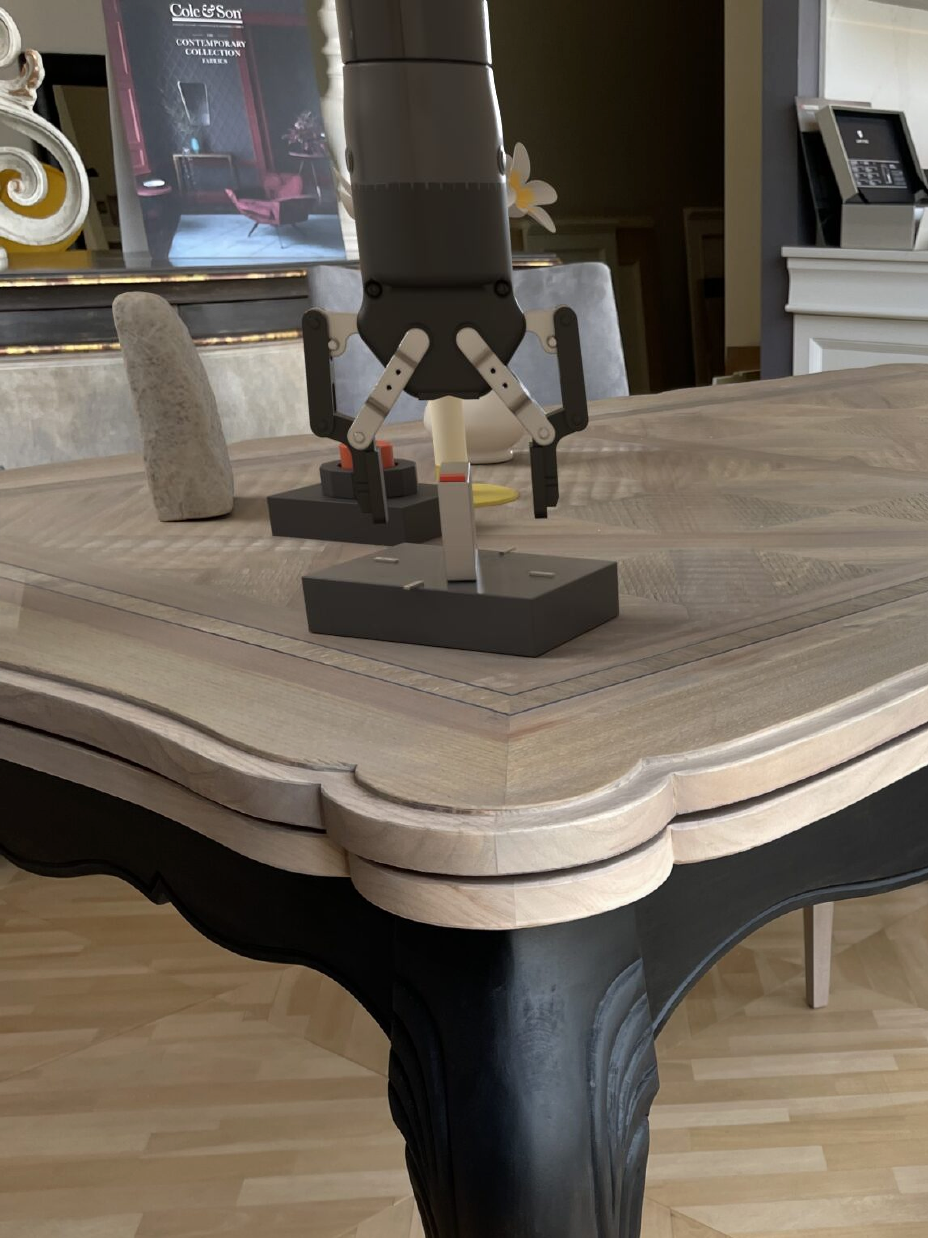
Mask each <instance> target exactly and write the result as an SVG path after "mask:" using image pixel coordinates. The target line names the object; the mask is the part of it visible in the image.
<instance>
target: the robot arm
mask: <svg viewBox="0 0 928 1238" xmlns="http://www.w3.org/2000/svg"><path fill="white" fill-rule="evenodd" d="M334 7H335V14H336V24H337V31H338V39H339V48H340V57H341V63H342V64H343V66H342V79H343V81H342V82H343V86H342V87H343V90H342V91H343V95H342V97H343V100H342V101H343V102H342V103H343V104H342V108H343V110H342V111H343V113H342V115H343V117H342V118H343V129H344V130H343V131H344V139H345V149H344V157H345V158H344V159H345V165H346V170H347V172H348V174H349V181H350V185H351V191H352V200H353V209H354V217H355V220H354V223H355V234H356V242H357V248H358V249H357V251H358V258H359V259H358V260H359V268H360V276H361V285H362V301H361V305H360V308H359V309H358V312H351V311H332V310H331V311H330V310H325V309H324V308H323V307H319V306H315V307H311V308H309V309H308V310H307V311H305V312H304V313H303V315H302V316H301V317H302V318H301V332H302V343H303V356H304V368H305V382H306V383H305V384H306V394H307V405H308V406H307V407H308V420H309V427H310V430H311V432H312V433H313V434H314V435H315V436H316V437H319V438H322V439H323V438H324V439H325V438H326V439H329V440H332V441H336V442H338V443H340V444H341V443H343V444H344V445H346V446H347V448H348V449H349V450H350V452H351V456H352V463H353V471H354V479H355V487H356V494H357V502H358V505H359V507H360V509H361V511H362V513H372V519H373V524H387V522H388V508H387V499H386V491H385V482H384V474H383V466H382V457H381V449H380V446H376V441H377V440H376V435H377V433H378V432H379V430H380V429H381V427H382V425H383V423H384V422H385V420H386V419H387V417H388V416H389V414H390V412H391V410H392V408H393V407H394V405H395V404H396V402H397V401H398V399H399V398H400V395H401V394H402V392H404V393H406V395H408V396H410V397H412V398H414V399H418V401H428V400H436V399H439V398H442V397H446V396H452V397H456V398H460V399H464V400H474V399H480V397H483V396H485V395H487V394H488V393H490V392H491V391H492V390H494V391H495V393H496V394H497V395H498V396H499V398H500V399H501V400H502V401H503V403H504V404H505V405H506V406H507V408H508V409H509V410H510V411H511V412H512V413H513V414H514V415H515V417H516V418H517V419H518V420H519V421H520V423H521V424H522V425H523V426H524V428H525V429H526V432H527V434H529V435H530V437H531V441H528V450H529V451H528V452H529V464H530V465H529V466H530V477H531V491H532V506H533V515H534V519H536V520H541V519H542V520H544V519H545V520H547V519H548V518H549V517H548V508H556V507H557V505H558V502H559V498H560V489H559V488H560V487H559V474H558V473H559V472H558V459H557V447H558V444H559V442H560V441H561V440H562V439H563V438H566V437H567V436H569V435H572V434H574V433H577V432H582V431H584V430H586V428H587V427H588V425H589V422H590V417H589V410H588V401H587V392H586V383H585V373H584V365H583V356H582V347H581V338H580V329H579V321H578V320H579V319H578V315H577V313H576V311H575V310H574V309H573V308H572V307H571V306H570V305H568V304H565V303H560V304H557V305H556V306H555V307H554V308H549V309H536V310H523V308H522V307H521V306H520V304H519V302H518V300H517V298H516V295H515V285H514V284H515V283H514V272H513V271H514V270H513V269H514V268H513V258H512V243H511V231H510V217H509V215H508V202H507V188H506V175H505V171H506V156H505V154H506V152H505V149H504V148H505V147H504V137H503V125H502V118H501V113H500V106H499V103H498V102H499V101H498V97H497V93H496V86H495V81H494V72H493V69H492V67H491V66H492V65H493V62H492V60H493V59H492V50H491V49H492V48H491V47H492V46H491V35H490V22H489V21H490V20H489V9H488V8H489V7H488V1H487V0H334ZM527 332H528V333H533V334H534V335H535V336H536V337H537V338H538V340H539V344H540V347H541V348H542V350H543V351H544V352H545V353H547V354H550V355H556V361H557V369H558V378H559V387H560V394H561V395H560V396H561V403H562V406H561V407H559V408H557V409H555V410H552V411H550V412H548V413H546V412H545V411H544V409H542V407H541V406H540V404H539V403H538V402H537V401H536V400H535V398H534V397H533V396H532V395H531V393H530V392H529V390H528V389H527V388H526V386H525V385H524V383H523V382H522V381H521V380H520V378H519V377H518V376H517V375H516V373H514V371H513V370H512V368H511V367H510V366H509V364H510V362H511V361H512V360H513V359H512V358H513V357H514V355H515V354H516V352H517V350H518V349H519V347H520V345H521V344H522V342H523V340H524V338H525V336H526V333H527ZM356 334H357V335H358V336H359V337H360V339H361V340H362V342H363V343H364V344H365V346H366V347H367V348H368V349H369V350H370V351H371V353H372V354H373V355H374V357H375V358H376V359H377V360H378V362H379V363H380V364H381V365H382V367H383V368H384V370H383V372H382V373H381V376H380V377H379V379H378V380H377V382H376V384H375V386H374V387H373V388H372V390H371V392H370V393H369V395H368V397H367V399H366V400H365V402H364V403H363V405H362V407H361V408H360V411H359V412H358V414H357V416H356V417H354V416H350V415H347V414H345V413H341V412H339V411H338V402H337V401H338V399H337V388H336V387H337V386H336V374H335V360H334V359H335V358H338V357H341V356H342V355H343V354H344V353H345V352H346V351H347V350H348V349H347V348H348V342H349V339H350V338H351V336H353V335H356ZM375 440H376V441H375Z"/></svg>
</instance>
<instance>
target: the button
mask: <svg viewBox="0 0 928 1238" xmlns="http://www.w3.org/2000/svg"><path fill="white" fill-rule="evenodd" d="M375 441H376V446H380V449H381V457H382V466H383V468H389V467H393V466H395V465H394V458H395V456H394V449H393V448H394V447H393V443H392V442H391V441H386V440H376V439H375ZM338 448H339V458H340V460H341V465H342V468H346V469H353V463H352V456H351V452H350V450H349V449H348V448H347V446H346V445H344V444H343V443H341V442H340V444H339V445H338Z"/></svg>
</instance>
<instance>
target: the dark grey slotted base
mask: <svg viewBox="0 0 928 1238" xmlns="http://www.w3.org/2000/svg"><path fill="white" fill-rule="evenodd" d="M477 549H478V563H477V580H476V581H447V580H446V572H445V562H444V551H443V545H435V544H426V543H425V544H424V543H420V544H414V543H402V544H399V545H396V546H388V547H386V548H383V549H380V550H377V551H375V552H374V551H373V552H372V553H371V552H370V553H368V554H366V555H363V556H358V557H357V558H353V559H350V560H347V561H343V562H341V563H338V564H334V565H332V566H329V567H326V568H322V569H319V570H316V571H314V572H310V573H307V574H304V575H302V576H300V577H301V579H300V580H301V585H302V592H303V600H304V606H305V613H306V622H307V628H308V631H309V632H310V633H315V634H324V635H334V636H343V637H352V638H362V639H370V640H378V641H388V642H396V643H405V644H415V645H424V646H433V647H440V648H441V647H442V648H449V649H460V650H470V651H478V652H486V653H496V654H503V655H504V654H505V655H513V656H523V657H532V658H537V657H538V656H540V655H542V654H544V653H546V652H548V651H551V650H552V649H554V648H556V647H558V646H560V645H562V644H564V643H566V642H568V641H570V640H572V639H574V638H576V637H578V636H580V635H582V634H584V633H586V632H588V631H589V630H592V629H594V628H595V627H597V626H600V625H602V624H603V623H605V622H608V621H609V620H611V619H614V618H616V617H617V616H619V615H620V596H619V573H618V569H619V568H618V561H615V560H606V559H595V558H583V557H573V556H572V557H571V556H562V555H561V556H559V555H549V554H538V553H526V552H516V549H517V548H516V546H508V547H505V548H503V549H500V550H492V549H481V548H477Z"/></svg>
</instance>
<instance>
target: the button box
mask: <svg viewBox="0 0 928 1238" xmlns="http://www.w3.org/2000/svg"><path fill="white" fill-rule="evenodd" d="M394 465H395V466H393V467H389V468H383V474H384V482H385V491H386V499H387V508H388V522H387V524H373V519H372V513H362V511H361V509H360V507H359V505H358V502H357V494H356V487H355V479H354V471H353V469H346V468H342V465H341V459H336V460H331V461H326V462H322V463H321V464H320V466H319V469H318V470H319V476H320V477H319V478H320V482H318V483H313V484H311V485H307V486H303V487H298V488H295V489H291V490H287V491H286V490H285V491H282V492H278V493H274V494H271V495H267V496H266V502H267V510H268V515H269V516H268V517H269V524H270V530H271V536H272V537H278V538H279V537H280V538H291V539H301V540H302V539H303V540H316V541H326V542H335V543H336V542H337V543H348V544H360V545H369V546H382V547H392V546H396V545H399V544H402V543H414V544H424V543H426V542H430V541H433V540H435V539H438V538H442V531H441V520H440V510H439V499H438V489H437V483H424V482H423V483H422V482H419V477H418V467H417V462H416V461H413V460H409V459H405V458H395V457H394Z"/></svg>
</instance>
